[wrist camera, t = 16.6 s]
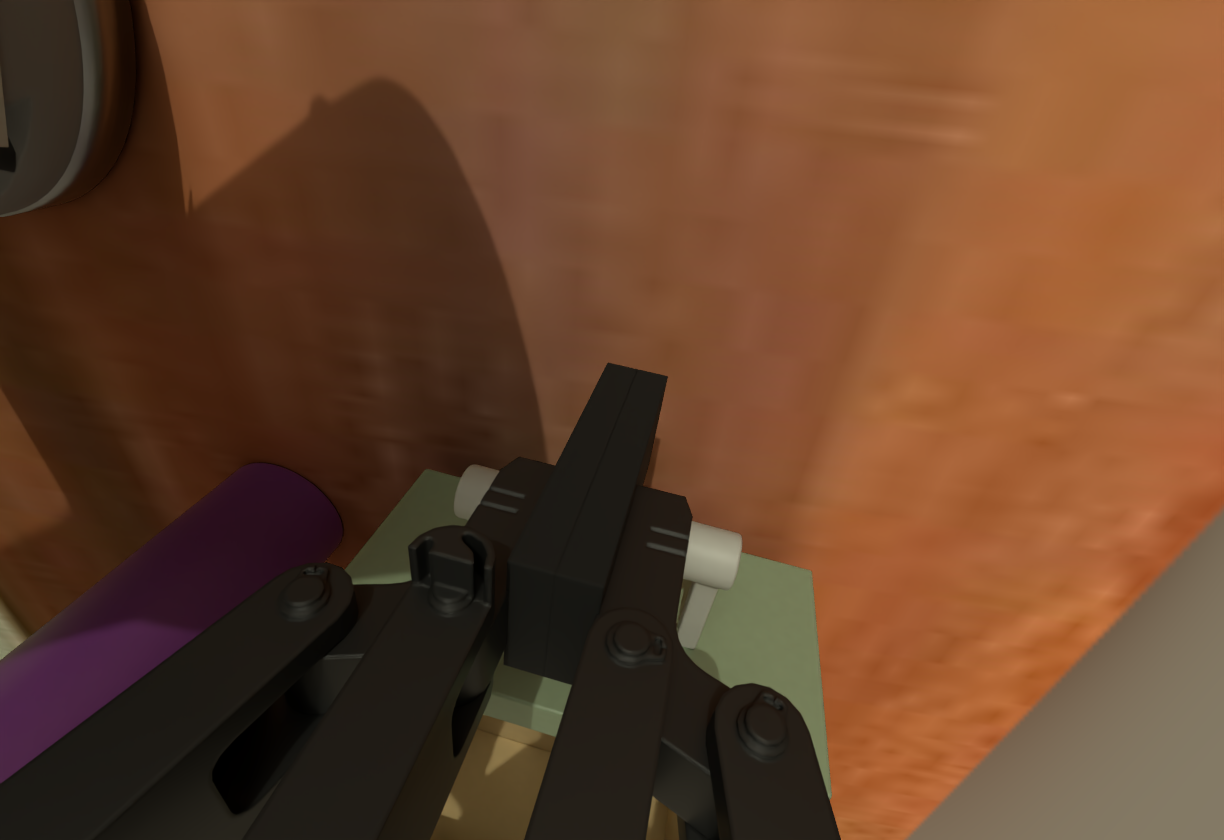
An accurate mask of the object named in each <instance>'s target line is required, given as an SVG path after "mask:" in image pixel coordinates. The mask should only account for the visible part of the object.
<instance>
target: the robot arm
mask: <svg viewBox="0 0 1224 840" xmlns="http://www.w3.org/2000/svg"><path fill="white" fill-rule="evenodd" d="M135 84H136V55H135V39H134V30H133V21H132V12H131V7H130V1H129V0H0V217H5V216H10V215H14V214H19V213H23V212H28V211H32V210H37V209H41V208H46V207H50V206H54V205H59V204H63V203H67V202H69V201H72V200H74V199H76V198H79V197H81V196H83V195H84V194H85V193H87V192H88V191H90V190H91V189H93V188H94V187H95V186H96V185H97V184H98V183H99V182H100V181H101V180H102V179H103V178H104V177H105V176H106V175H107V174H108V172H109V171H110V170H111V168H112V167H113V165H114V164H115V162H116V161H117V158H118V156H119V154H120V152H121V150H122V148H123V146H124V143H125V140H126V137H127V133H128V130H129V127H130V123H131V117H132V112H133V106H134V99H135ZM667 378H668V376H664V375H660V374H655V373H651V372H646V371H642V370H638V369H633V368H629V367H625V366H620V365H616V364H611V363H607V365H606V367H605V369H604V371H603V373H602V375H601V377H600V379H599V381H598V383H597V385H596V387H595V389H594V391H593V393H592V395H591V397H590V399H589V401H588V403H587V405H586V407H585V409H584V411H583V412H582V414H581V416H580V418H579V420H578V422H577V424H576V426H575V428H574V430H573V432H572V434H571V436H570V438H569V440H568V442H567V444H566V446H565V448H564V450H563V452H562V454H561V456H560V458H559V460H558V462H557V464H556V466H554V465H550V464H546V463H542V462H538V461H534V460H530V459H527V458H523V457H518V458H517V459H515V460H514V461H512V462H511V463H509V464H508V465H506V466H505V467H503V468H502V469H500V471H499V473H498V474H497V476H496V477H495V479H494V480H493V482H492V484H491V485H490V488H489V490H487V492H486V493H485V495H484V496H483V498H482V499H481V502H480V505H479V504H478V506H477V507H476V509H475V510H474V512H473V514H472V515H471V517H470V518H469V520H468V521H467V523H466V525H465V526H459V525H448V526H442V527H436V528H433V529H431V530H429V531H427V532H425V533H423V534H421V535H419V536H418V537H417V538H416V539H415V540H414V541H413V542H412V543H411V544H410V545H409V546H408V552H409V561H410V570H411V579H412V580H410V581H406V582H402V583H392V584H353V582H352V578H351V576H350V575H349V574H348V573H347V572H346V571H345V570H344V569H343V568H342V567H339V566H336V565H333V564H330V563H307V564H304V565H300V566H297V567H293V568H290V569H289V570H287V571H285V572H283V573H281V574H280V575H278V576H276V577H274V578H273V579H272V580H270V581H269V582H268V583H266V584H265V585H264V586H262V587H261V588H260V589H258V590H257V591H256V592H254V593H253V594H252V595H250V596H249V597H248V598H246V599H245V600H244V601H242V602H241V603H240V604H238V605H237V606H236V607H234V608H233V609H232V610H230V611H229V612H228V613H227V614H225V615H224V616H223V617H221V618H220V619H219V620H217V621H216V622H215V623H213V624H212V625H211V626H209V627H208V628H207V629H205V630H204V631H203V632H201V633H200V634H199V635H197V636H196V637H195V638H193V639H192V640H191V641H189V642H188V643H187V644H185V645H184V646H183V647H181V648H180V649H179V650H177V651H176V652H175V653H173V654H172V655H171V656H169V657H168V658H167V659H165V660H164V661H163V662H161V663H160V664H159V665H157V666H156V667H155V668H153V669H152V670H151V671H149V672H148V673H147V674H145V675H144V676H143V677H141V678H140V679H139V680H137V681H136V682H135V683H133V684H132V685H131V686H129V687H128V688H127V689H125V690H124V691H123V692H122V693H120V694H119V695H118V696H116V697H115V698H114V699H112V700H111V701H110V702H108V703H107V704H106V705H104V706H103V707H102V708H100V709H99V710H98V711H96V712H95V713H94V714H92V715H91V716H90V717H88V718H87V719H86V720H84V721H83V722H82V723H80V724H79V725H78V726H76V727H75V728H74V729H72V730H71V731H70V732H68V733H67V734H66V735H64V736H63V737H62V738H60V739H59V740H58V741H56V742H55V743H54V744H52V745H51V746H50V747H48V748H47V749H46V750H44V751H43V752H42V753H40V754H39V755H38V756H36V757H35V758H34V759H32V760H31V761H30V762H28V763H27V764H26V765H24V766H23V767H22V768H20V769H19V770H18V771H17V772H15V773H14V774H13V775H11V776H10V777H9V778H7V779H6V780H5V781H3V782H2V783H1V784H0V840H430V839H431V837H432V834H433V832H434V829H435V827H436V825H437V822H438V820H439V818H440V815H441V813H442V811H443V808H444V806H445V803H446V801H447V799H448V796H449V794H450V792H451V789H452V787H453V785H454V782H455V780H456V777H457V775H458V773H459V770H460V768H461V766H462V763H463V761H464V759H465V756H466V754H467V751H468V749H469V747H470V744H471V742H472V740H473V737H474V735H475V733H476V730H477V728H478V725H479V723H480V721H481V718H482V716H483V714H484V711H485V709H486V707H487V704H488V702H489V699H490V697H491V692H492V688H493V676H494V672H495V670H496V667H497V665H498V663H499V661H500V658H501V656H502V654H503V651H504V663H503V665H506V666H509V667H512V668H516V669H519V670H522V671H526V672H529V673H533V674H536V675H539V676H543V677H546V678H549V679H553V680H556V681H560V682H563V683H566V684H570V685H572V686H571V689H570V692H569V696H568V699H567V702H566V705H565V709H564V712H563V715H562V718H561V722H560V725H559V728H558V731H557V734H556V738H555V741H554V744H553V747H552V751H551V754H550V757H549V760H548V763H547V767H546V770H545V773H544V776H543V780H542V783H541V786H540V789H539V793H538V796H537V799H536V802H535V805H534V809H533V812H532V815H531V818H530V822H529V825H528V828H527V831H526V835H525V838H524V840H646V835H647V828H648V822H649V816H650V809H651V803H652V796H653V797H654V798H656V799H657V800H658V801H659V802H661V803H662V804H663V805H665V806H666V807H667V808H669V809H670V810H671V811H673V812H674V813H675V814H677V822H678V833H679V840H841V838H840V835H839V831H838V828H837V824H836V821H835V817H834V814H833V811H832V807H831V804H830V800H829V797H828V793H827V790H826V786H825V783H824V779H823V776H822V773H821V769H820V766H819V762H818V759H817V755H816V752H815V748H814V745H813V741H812V738H811V735H810V732H809V729H808V727H807V725H806V723H805V721H804V719H803V717H802V715H801V713H800V712H799V711H798V710H797V709H796V707H795V706H794V705H793V704H792V703H791V702H790V701H789V700H788V698H786V697H785V696H783V695H782V694H780V693H778V692H777V691H775V690H774V689H772V688H770V687H767V686H763V685H759V684H755V683H747V684H740V685H735V686H734V687H732V688H730V687H728V686H726V685H725V684H723V683H722V682H720V681H719V680H717V679H716V678H714V677H712V676H711V675H709V674H708V673H706V672H705V671H704V670H702V669H701V668H700V667H698V666H697V665H696V664H695V663H694V662H693V661H692V660H691V659H690V657H689V656H688V655H687V654H686V653H685V651H684V649H683V647H682V645H681V643H680V641H679V637H678V634H677V613H678V607H679V601H680V594H681V588H682V582H683V575H684V569H685V562H686V555H687V550H688V543H689V537H690V531H691V524H692V518H693V516H692V514H691V511H690V508H689V505H688V503H687V500H686V497H684V496H680V495H676V494H672V493H668V492H664V491H660V490H656V489H652V488H648V487H644V486H643V483H644V480H645V476H646V472H647V469H648V465H649V461H650V457H651V452H652V448H653V443H654V438H655V434H656V429H657V424H658V420H659V415H660V410H661V406H662V401H663V397H664V392H665V387H666V383H667Z"/></svg>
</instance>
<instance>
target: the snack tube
mask: <svg viewBox="0 0 1224 840" xmlns="http://www.w3.org/2000/svg"><path fill="white" fill-rule="evenodd" d="M342 536H343V528H342V523H341V519H340V517H339V515H338V513H337V511H336V509H335V508H334V506H333V505H332V503H331V502H330V501H329V500H328V498H327V497H326V496H325V495H324V494H323V493H322V492H321V491H320V490H319V489H318V488H317V487H315V486H314V485H313V484H312V483H310V482H309V481H308V480H306V479H305V478H303V477H301V476H300V475H298V474H296V473H294V472H292V471H290V470H288V469H285V468H283V467H280V466H277V465H272V464H267V463H253V464H248V465H245V466H243V467H241V468H239V469H238V470H237V471H236V472H234V473H233V474H232V475H231V476H229V477H228V478H227V479H226V480H224V481H223V482H222V483H221V484H219V485H218V486H217V487H216V488H214V489H213V490H212V491H211V492H209V493H208V494H207V495H206V496H205V497H203V498H202V499H201V500H200V501H198V502H197V503H196V504H195V505H193V506H192V507H191V508H190V509H188V510H187V511H186V512H185V513H183V514H182V515H181V516H180V517H178V518H177V519H176V520H175V521H173V522H172V523H171V524H170V525H168V526H167V527H166V528H165V529H163V530H162V531H161V532H160V533H158V534H157V535H156V536H155V537H153V538H152V539H151V540H150V541H148V542H147V543H146V544H145V545H143V546H142V547H141V548H140V549H139V550H137V551H136V552H135V553H134V554H132V555H131V556H130V557H129V558H127V559H126V560H125V561H124V562H122V563H121V564H120V565H119V566H117V567H116V568H115V569H114V570H112V571H111V572H110V573H109V574H107V575H106V576H105V577H104V578H102V579H101V580H100V581H99V582H97V583H96V584H95V585H94V586H92V587H91V588H90V589H89V590H87V591H86V592H85V593H84V594H82V595H81V596H80V597H79V598H77V599H76V600H75V601H74V602H72V603H71V604H70V605H69V606H68V607H66V608H65V609H64V610H63V611H61V612H60V613H59V614H58V615H56V616H55V617H54V618H53V619H51V620H50V621H49V622H48V623H46V624H45V625H44V626H43V627H41V628H40V629H39V630H38V631H36V632H35V633H34V634H33V635H31V636H30V637H29V638H28V639H26V640H25V641H24V642H23V643H21V644H20V645H19V646H18V647H16V648H15V649H14V650H13V651H11V652H10V653H9V654H8V655H6V656H5V657H4V658H3V659H1V660H0V784H1V783H2V782H3V781H5V780H6V779H7V778H9V777H10V776H11V775H13V774H14V773H15V772H17V771H18V770H19V769H20V768H22V767H23V766H24V765H26V764H27V763H28V762H30V761H31V760H32V759H34V758H35V757H36V756H38V755H39V754H40V753H42V752H43V751H44V750H46V749H47V748H48V747H50V746H51V745H52V744H54V743H55V742H56V741H58V740H59V739H60V738H62V737H63V736H64V735H66V734H67V733H68V732H70V731H71V730H72V729H74V728H75V727H76V726H78V725H79V724H80V723H82V722H83V721H84V720H86V719H87V718H88V717H90V716H91V715H92V714H94V713H95V712H96V711H98V710H99V709H100V708H102V707H103V706H104V705H106V704H107V703H108V702H110V701H111V700H112V699H114V698H115V697H116V696H118V695H119V694H120V693H122V692H123V691H124V690H125V689H127V688H128V687H129V686H131V685H132V684H133V683H135V682H136V681H137V680H139V679H140V678H141V677H143V676H144V675H145V674H147V673H148V672H149V671H151V670H152V669H153V668H155V667H156V666H157V665H159V664H160V663H161V662H163V661H164V660H165V659H167V658H168V657H169V656H171V655H172V654H173V653H175V652H176V651H177V650H179V649H180V648H181V647H183V646H184V645H185V644H187V643H188V642H189V641H191V640H192V639H193V638H195V637H196V636H197V635H199V634H200V633H201V632H203V631H204V630H205V629H207V628H208V627H209V626H211V625H212V624H213V623H215V622H216V621H217V620H219V619H220V618H221V617H223V616H224V615H225V614H227V613H228V612H229V611H230V610H232V609H233V608H234V607H236V606H237V605H238V604H240V603H241V602H242V601H244V600H245V599H246V598H248V597H249V596H250V595H252V594H253V593H254V592H256V591H257V590H258V589H260V588H261V587H262V586H264V585H265V584H266V583H268V582H269V581H270V580H272V579H273V578H274V577H276V576H278V575H280V574H281V573H283V572H285V571H287V570H289V569H290V568H293V567H297V566H300V565H304V564H307V563H324V562H325V561H326V560H327V558H328V557H329V556H330V555H331V554H332V553H333V551H334V550H335V549H336V548H337V547H338V546H339V544H340V542H341V540H342Z"/></svg>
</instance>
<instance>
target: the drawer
mask: <svg viewBox="0 0 1224 840" xmlns="http://www.w3.org/2000/svg"><path fill="white" fill-rule="evenodd" d="M498 473H499V470H495V469H491V468H488V467H484V466H480V465H476V464H473V465H470V466H469V467H468V468H467V469H466V470H465V472H464V473H463V475H462V477H461V478H460V477H456V476H453V475H449V474H445V473H441V472H438V471H434V470H430V469H425V470H424V472H423V473H422V474H421V475H420V477H419V478H418V479H417V480H416V482H415V483H414V484H413V485H412V486H411V488H410V489H409V490H408V491H407V493H406V494H405V495H404V496H403V498H402V499H401V500H400V501H399V503H398V504H397V505H396V506H395V508H394V509H393V510H392V511H391V513H390V514H389V515H388V516H387V518H386V519H385V520H384V521H383V523H382V524H381V525H380V526H379V528H378V529H377V530H376V531H375V533H374V534H373V535H372V536H371V538H370V539H369V540H368V541H367V542H366V544H365V545H364V546H363V547H362V549H361V550H360V551H359V552H358V554H357V555H356V556H355V557H354V559H353V560H352V561H351V562H350V564H349V565H348V566H347V567H346V569H345V571H346V572H347V573H348V574H349V575H350V576H351V578H352V582H353V584H392V583H402V582H406V581H410V580H412V579H411V570H410V561H409V552H408V546H409V545H410V544H411V543H412V542H413V541H414V540H415V539H416V538H417V537H418V536H419V535H421V534H423V533H425V532H427V531H429V530H431V529H433V528H436V527H442V526H448V525H459V526H465V525H466V523H467V521H468V520H469V518H470V517H471V515H472V514H473V512H474V510H475V509H476V507H477V506H478V504H479V505H480V502H481V499H482V498H483V496H484V495H485V493H486V492H487V490H489V488H490V485H491V484H492V482H493V480H494V479H495V477H496V476H497V474H498ZM677 634H678V637H679V641H680V643H681V645H682V647H683V649H684V651H685V653H686V654H687V655H688V656H689V657H690V659H691V660H692V661H693V662H694V663H695V664H696V665H697V666H698V667H700V668H701V669H702V670H704V671H705V672H706V673H708V674H709V675H711V676H712V677H714V678H716V679H717V680H719V681H720V682H722V683H723V684H725V685H726V686H728V687H730V688H732V687H734V686H735V685H740V684H747V683H755V684H759V685H763V686H767V687H770V688H772V689H774V690H775V691H777V692H778V693H780V694H782V695H783V696H785V697H786V698H788V700H789V701H790V702H791V703H792V704H793V705H794V706H795V707H796V709H797V710H798V711H799V712H800V713H801V715H802V717H803V719H804V721H805V723H806V725H807V727H808V729H809V732H810V735H811V738H812V741H813V745H814V748H815V752H816V755H817V759H818V762H819V766H820V769H821V773H822V776H823V779H824V783H825V786H826V790H827V793H828V797H829V800H830V799H831V796H832V792H831V781H830V770H829V759H828V748H827V736H826V725H825V714H824V703H823V692H822V681H821V669H820V658H819V647H818V636H817V625H816V613H815V602H814V591H813V580H812V572H811V571H810V570H807V569H803V568H799V567H796V566H792V565H788V564H784V563H781V562H777V561H773V560H769V559H766V558H762V557H758V556H754V555H750V554H747V553H743V552H742V537H741V535H740V534H739V533H736V532H732V531H728V530H724V529H720V528H717V527H713V526H709V525H705V524H701V523H698V522H694V521H692V524H691V531H690V537H689V543H688V550H687V555H686V562H685V569H684V575H683V582H682V588H681V594H680V601H679V607H678V613H677ZM503 663H504V651H503V654H502V656H501V658H500V661H499V663H498V665H497V667H496V670H495V672H494V676H493V688H492V692H491V697H490V699H489V702H488V704H487V707H486V709H485V711H484V714H483V716H482V718H481V721H480V723H479V725H478V728H477V730H476V733H475V735H474V737H473V740H472V742H471V744H470V747H469V749H468V751H467V754H466V756H465V759H464V761H463V763H462V766H461V768H460V770H459V773H458V775H457V777H456V780H455V782H454V785H453V787H452V789H451V792H450V794H449V796H448V799H447V801H446V803H445V806H444V808H443V811H442V813H441V815H440V818H439V820H438V822H437V825H436V827H435V829H434V832H433V834H432V837H431V839H430V840H524V838H525V835H526V831H527V828H528V825H529V822H530V818H531V815H532V812H533V809H534V805H535V802H536V799H537V796H538V793H539V789H540V786H541V783H542V780H543V776H544V773H545V770H546V767H547V763H548V760H549V757H550V754H551V751H552V747H553V744H554V741H555V738H556V734H557V731H558V728H559V725H560V722H561V718H562V715H563V712H564V709H565V705H566V702H567V699H568V696H569V692H570V689H571V686H572V685H570V684H566V683H563V682H560V681H556V680H553V679H549V678H546V677H543V676H539V675H536V674H533V673H529V672H526V671H522V670H519V669H516V668H512V667H509V666H506V665H503ZM646 840H679V833H678V822H677V814H675V813H674V812H673V811H671V810H670V809H669V808H667V807H666V806H665V805H663V804H662V803H661V802H659V801H658V800H657V799H656V798H654V797H653V796H652V803H651V809H650V816H649V822H648V828H647V835H646Z"/></svg>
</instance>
